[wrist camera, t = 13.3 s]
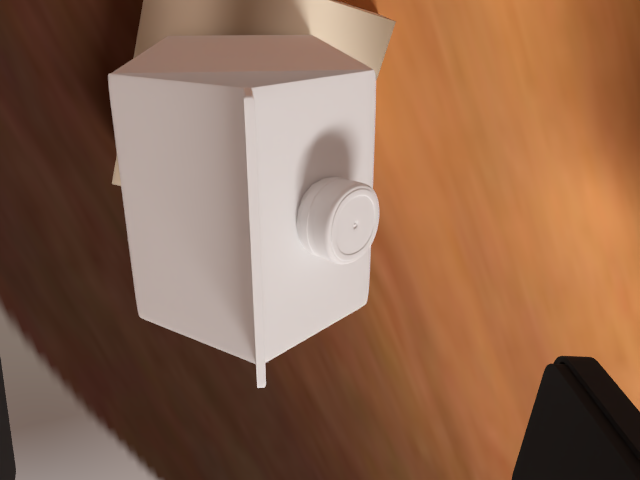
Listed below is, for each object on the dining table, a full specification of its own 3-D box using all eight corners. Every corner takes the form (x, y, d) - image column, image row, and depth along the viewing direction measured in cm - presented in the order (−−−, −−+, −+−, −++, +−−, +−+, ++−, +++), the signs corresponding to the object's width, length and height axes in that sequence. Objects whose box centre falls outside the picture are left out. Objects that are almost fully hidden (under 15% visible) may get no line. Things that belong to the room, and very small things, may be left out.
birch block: (376, 13, 35) (395, 21, 30) (317, 202, 39) (325, 233, 35) (166, -55, 32) (152, -57, 28) (129, 156, 37) (112, 183, 32)
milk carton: (179, 177, 32) (112, 400, 14) (166, 35, 29) (65, 99, 12) (313, 172, 33) (402, 377, 15) (312, 33, 30) (420, 92, 13)
